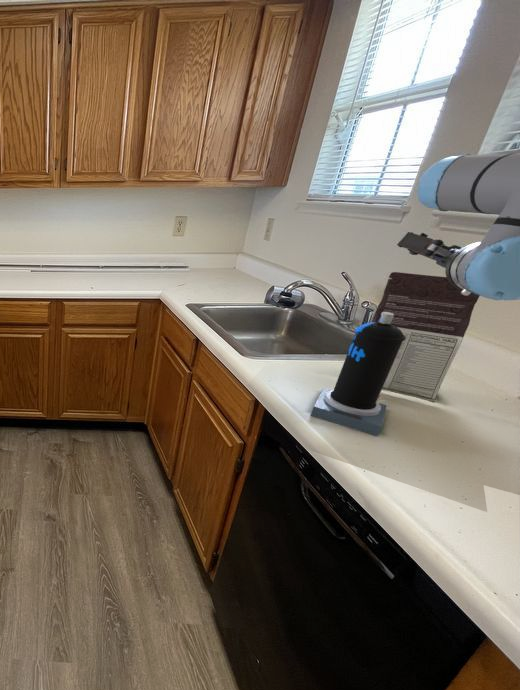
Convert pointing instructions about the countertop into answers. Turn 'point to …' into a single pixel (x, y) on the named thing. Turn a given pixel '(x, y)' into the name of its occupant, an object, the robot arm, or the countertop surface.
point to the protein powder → (424, 330)
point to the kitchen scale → (349, 414)
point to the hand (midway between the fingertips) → (456, 264)
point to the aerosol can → (368, 363)
